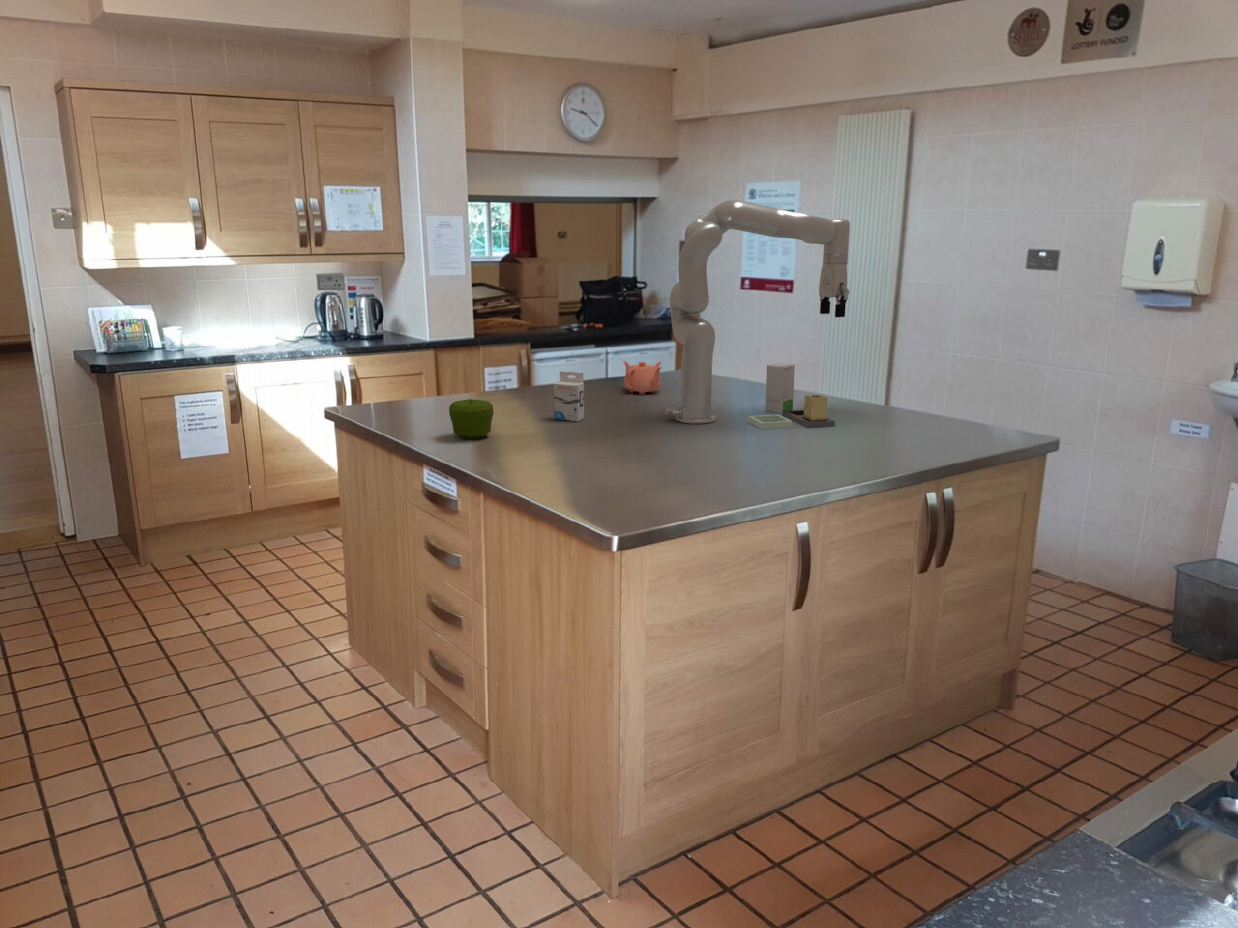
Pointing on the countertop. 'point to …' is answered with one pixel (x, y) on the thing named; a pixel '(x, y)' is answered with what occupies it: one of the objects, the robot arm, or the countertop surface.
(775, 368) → the skincare box
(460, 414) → the apple
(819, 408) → the pale yellow tall block
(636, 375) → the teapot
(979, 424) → the countertop surface
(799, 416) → the grey metal tray
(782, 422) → the tray
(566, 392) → the ink box
